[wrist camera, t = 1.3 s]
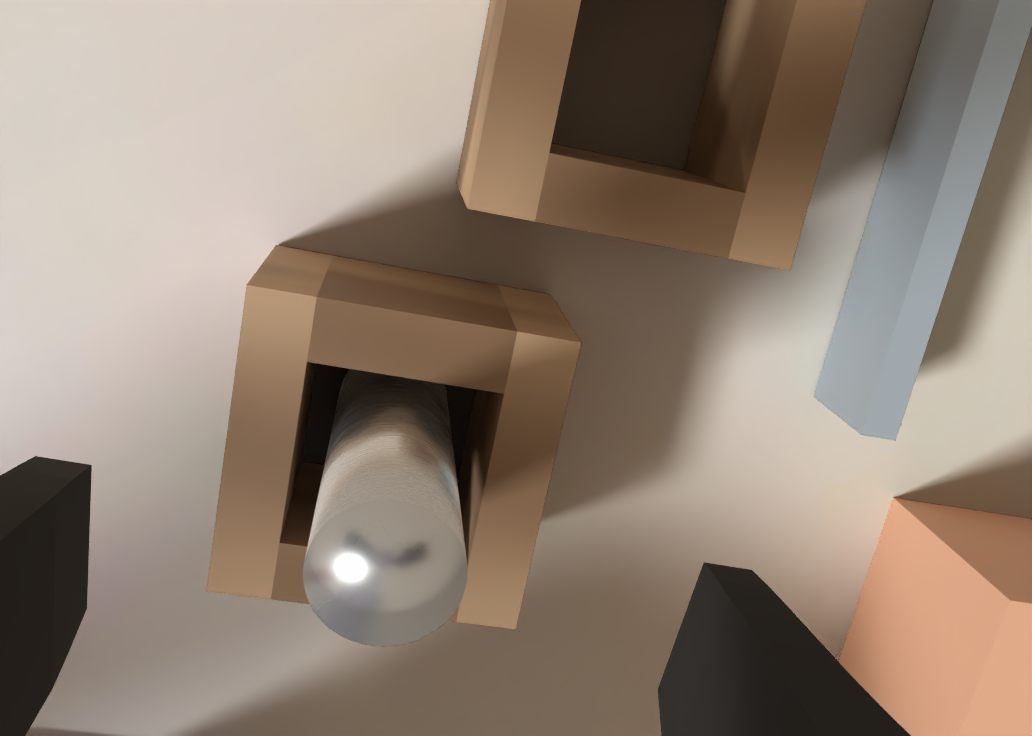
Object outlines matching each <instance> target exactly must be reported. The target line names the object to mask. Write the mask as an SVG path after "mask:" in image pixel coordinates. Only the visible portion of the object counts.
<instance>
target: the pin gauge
mask: <svg viewBox="0 0 1032 736" xmlns="http://www.w3.org/2000/svg"><path fill="white" fill-rule="evenodd" d="M467 576H468V570H467V558H466V550H465V542H464V534H463V525H462V517H461V509H460V501H459V492H458V484H457V476H456V468H455V459H454V451H453V443H452V435H451V426H450V418H449V410H448V402H447V394H446V388H445V384H441V383H435V382H428V381H422V380H416V379H410V378H404V377H398V376H391V375H385V374H379V373H373V372H367V371H360V370H354V369H349V371H348V372H347V374H346V375H345V377H344V379H343V382H342V384H341V389H340V393H339V398H338V403H337V407H336V412H335V417H334V422H333V427H332V431H331V436H330V441H329V446H328V450H327V455H326V460H325V465H324V470H323V474H322V479H321V484H320V489H319V494H318V498H317V503H316V508H315V513H314V517H313V522H312V527H311V532H310V537H309V541H308V546H307V551H306V556H305V561H304V567H303V584H304V588H305V593H306V596H307V598H308V601H309V603H310V605H311V607H312V609H313V610H314V612H315V613H316V614H317V616H318V617H319V618H320V619H321V621H322V622H323V623H324V624H325V625H326V626H328V627H329V628H330V629H332V630H333V631H334V632H336V633H337V634H339V635H341V636H343V637H345V638H347V639H349V640H351V641H354V642H358V643H361V644H365V645H371V646H396V645H402V644H406V643H410V642H413V641H416V640H418V639H421V638H423V637H425V636H427V635H429V634H430V633H432V632H434V631H435V630H436V629H438V628H439V627H441V626H442V625H443V624H444V623H445V622H446V621H447V620H448V619H449V618H450V617H451V615H452V614H453V613H454V612H455V610H456V609H457V607H458V605H459V604H460V602H461V599H462V597H463V595H464V592H465V588H466V584H467Z"/></svg>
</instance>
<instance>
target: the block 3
mask: <svg viewBox="0 0 1032 736" xmlns="http://www.w3.org/2000/svg"><path fill="white" fill-rule="evenodd" d="M838 662H839V663H840V664H841V665H842V666H843V667H844V668H845V669H846V670H847V671H848V672H849V674H850V675H851V676H852V677H853V678H854V679H855V680H856V681H857V682H858V683H859V684H860V685H861V686H862V687H863V688H864V689H865V690H866V691H867V692H868V693H869V694H870V695H871V696H872V697H873V698H874V700H875V701H876V702H877V703H878V704H879V705H880V706H881V707H882V708H883V709H884V710H885V711H886V712H887V713H888V714H889V715H890V716H891V717H892V718H893V719H894V720H895V721H896V722H897V723H898V724H899V725H901V726H902V727H903V728H904V729H905V730H906V731H907V732H908V733H909V734H910V735H911V736H1032V519H1028V518H1022V517H1015V516H1009V515H1002V514H996V513H989V512H983V511H976V510H970V509H963V508H957V507H950V506H944V505H938V504H931V503H925V502H918V501H912V500H905V499H899V498H893V499H892V502H891V505H890V508H889V511H888V514H887V517H886V520H885V523H884V526H883V529H882V532H881V535H880V538H879V541H878V544H877V547H876V550H875V553H874V556H873V559H872V562H871V565H870V568H869V571H868V574H867V577H866V580H865V583H864V586H863V589H862V592H861V595H860V598H859V601H858V604H857V607H856V610H855V613H854V616H853V619H852V622H851V625H850V628H849V631H848V634H847V637H846V640H845V643H844V646H843V649H842V652H841V655H840V658H839V661H838Z"/></svg>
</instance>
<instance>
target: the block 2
mask: <svg viewBox="0 0 1032 736" xmlns="http://www.w3.org/2000/svg"><path fill="white" fill-rule="evenodd" d="M866 1H867V0H727V1H726V5H725V9H724V13H723V17H722V21H721V25H720V29H719V34H718V38H717V42H716V46H715V50H714V54H713V58H712V62H711V66H710V70H709V74H708V78H707V82H706V86H705V90H704V94H703V98H702V102H701V106H700V110H699V114H698V118H697V123H696V127H695V131H694V135H693V139H692V143H691V147H690V151H689V155H688V159H687V163H686V167H685V171H683V170H679V169H674V168H669V167H664V166H659V165H654V164H649V163H645V162H640V161H635V160H630V159H625V158H620V157H615V156H610V155H606V154H601V153H596V152H591V151H586V150H581V149H576V148H571V147H567V146H562V145H557V144H552V143H551V142H552V137H553V133H554V128H555V123H556V118H557V113H558V109H559V104H560V99H561V94H562V90H563V85H564V80H565V75H566V70H567V66H568V61H569V56H570V51H571V47H572V42H573V37H574V32H575V27H576V23H577V18H578V13H579V8H580V4H581V0H490V4H489V9H488V15H487V20H486V25H485V31H484V36H483V42H482V47H481V52H480V58H479V63H478V69H477V74H476V79H475V85H474V90H473V96H472V101H471V106H470V112H469V117H468V122H467V128H466V133H465V139H464V144H463V149H462V155H461V160H460V166H459V171H458V176H457V182H456V184H457V186H458V188H459V191H460V193H461V195H462V197H463V200H464V202H465V204H466V206H467V209H471V210H477V211H482V212H487V213H492V214H498V215H503V216H508V217H513V218H518V219H524V220H529V221H534V222H539V223H544V224H550V225H555V226H560V227H565V228H571V229H576V230H581V231H586V232H591V233H597V234H602V235H607V236H612V237H617V238H623V239H628V240H633V241H638V242H644V243H649V244H654V245H659V246H664V247H670V248H675V249H680V250H685V251H691V252H696V253H701V254H706V255H711V256H717V257H722V258H727V259H732V260H737V261H743V262H748V263H753V264H758V265H764V266H769V267H774V268H779V269H784V270H790V268H791V265H792V261H793V258H794V254H795V251H796V247H797V244H798V240H799V237H800V233H801V230H802V226H803V223H804V219H805V216H806V212H807V208H808V205H809V201H810V198H811V194H812V191H813V187H814V184H815V180H816V177H817V173H818V170H819V166H820V163H821V159H822V156H823V152H824V149H825V145H826V142H827V138H828V134H829V131H830V127H831V124H832V120H833V117H834V113H835V110H836V106H837V103H838V99H839V96H840V92H841V89H842V85H843V82H844V78H845V75H846V71H847V68H848V64H849V61H850V57H851V53H852V50H853V46H854V43H855V39H856V36H857V32H858V29H859V25H860V22H861V18H862V15H863V11H864V8H865V4H866Z"/></svg>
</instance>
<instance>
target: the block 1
mask: <svg viewBox="0 0 1032 736" xmlns="http://www.w3.org/2000/svg"><path fill="white" fill-rule="evenodd" d="M580 347H581V341H580V340H579V338H578V336H577V335H576V333H575V332H574V330H573V329H572V327H571V326H570V324H569V322H568V321H567V319H566V318H565V316H564V315H563V313H562V311H561V310H560V308H559V307H558V305H557V304H556V302H555V301H554V299H553V297H552V296H551V295H550V294H545V293H539V292H534V291H528V290H523V289H517V288H511V287H506V286H500V285H495V284H489V283H484V282H478V281H472V280H467V279H461V278H456V277H450V276H445V275H439V274H434V273H428V272H422V271H417V270H411V269H406V268H400V267H395V266H389V265H384V264H378V263H372V262H367V261H361V260H356V259H350V258H345V257H339V256H334V255H328V254H322V253H317V252H311V251H306V250H300V249H295V248H289V247H284V246H278V245H276V246H275V247H274V249H273V250H272V252H271V253H270V254H269V256H268V257H267V258H266V260H265V261H264V262H263V264H262V265H261V266H260V268H259V269H258V270H257V272H256V273H255V274H254V276H253V277H252V278H251V280H250V281H249V283H248V284H247V287H246V295H245V302H244V310H243V318H242V325H241V333H240V340H239V348H238V355H237V363H236V371H235V378H234V386H233V393H232V401H231V409H230V416H229V424H228V431H227V439H226V447H225V454H224V462H223V469H222V477H221V485H220V492H219V500H218V507H217V515H216V523H215V530H214V538H213V545H212V553H211V560H210V568H209V576H208V583H207V591H208V592H216V593H224V594H232V595H241V596H249V597H257V598H265V599H273V600H281V601H289V602H298V603H306V604H310V603H309V601H308V598H307V596H306V593H305V588H304V584H303V567H304V561H305V556H306V551H307V546H308V541H309V537H310V532H311V527H312V522H313V517H314V513H315V508H316V503H317V498H318V494H319V489H320V484H321V479H322V474H323V470H324V465H321V464H314V463H308V462H301V460H302V453H303V447H304V440H305V434H306V427H307V421H308V414H309V408H310V401H311V395H312V388H313V382H314V376H315V369H316V363H317V364H323V365H330V366H336V367H342V368H348V369H354V370H360V371H367V372H373V373H379V374H385V375H391V376H398V377H404V378H410V379H416V380H422V381H428V382H435V383H441V384H447V385H453V386H459V387H465V388H472V389H477V390H476V395H475V400H474V405H473V410H472V415H471V419H470V424H469V429H468V434H467V439H466V444H465V449H464V454H463V459H462V464H461V469H460V474H459V479H458V492H459V501H460V509H461V517H462V525H463V534H464V542H465V550H466V558H467V570H468V576H467V584H466V588H465V592H464V595H463V597H462V599H461V602H460V604H459V605H458V607H457V609H456V610H455V612H454V613H453V614H452V615H451V617H450V618H449V619H448V620H447V621H452V622H460V623H468V624H477V625H485V626H493V627H501V628H509V629H516V625H517V621H518V617H519V612H520V608H521V604H522V599H523V595H524V590H525V586H526V582H527V577H528V573H529V569H530V564H531V560H532V556H533V551H534V547H535V543H536V538H537V534H538V530H539V525H540V521H541V517H542V512H543V508H544V503H545V499H546V495H547V490H548V486H549V482H550V477H551V473H552V469H553V464H554V460H555V456H556V451H557V447H558V443H559V438H560V434H561V430H562V425H563V421H564V416H565V412H566V408H567V403H568V399H569V395H570V390H571V386H572V382H573V377H574V373H575V369H576V364H577V360H578V356H579V351H580Z"/></svg>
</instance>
